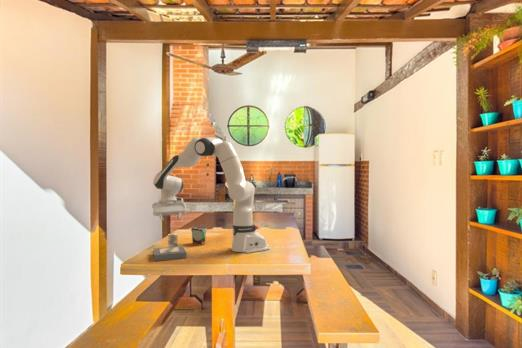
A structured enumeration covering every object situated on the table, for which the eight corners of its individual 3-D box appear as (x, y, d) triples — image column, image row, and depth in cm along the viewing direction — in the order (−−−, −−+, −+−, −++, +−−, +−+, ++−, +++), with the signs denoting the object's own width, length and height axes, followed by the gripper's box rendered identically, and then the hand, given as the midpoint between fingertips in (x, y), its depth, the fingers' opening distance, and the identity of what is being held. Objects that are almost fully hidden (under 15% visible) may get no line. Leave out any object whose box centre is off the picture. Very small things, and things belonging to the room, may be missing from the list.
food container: (211, 243, 212) (210, 227, 212) (203, 245, 207) (202, 229, 207) (199, 241, 220) (198, 225, 220) (191, 242, 216) (190, 227, 215)
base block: (182, 251, 194) (182, 245, 194) (186, 257, 179) (186, 251, 179) (153, 253, 189) (153, 248, 189) (154, 261, 174) (154, 255, 174)
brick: (177, 248, 202) (176, 233, 201) (177, 250, 197) (177, 234, 197) (168, 249, 200) (167, 233, 200) (168, 251, 195) (168, 235, 195)
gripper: (152, 199, 213) (153, 217, 204) (185, 198, 220) (187, 215, 211) (152, 206, 218) (153, 223, 208) (184, 204, 224) (187, 221, 215)
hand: (170, 219), depth 210 cm, fingers open, 8 cm apart
